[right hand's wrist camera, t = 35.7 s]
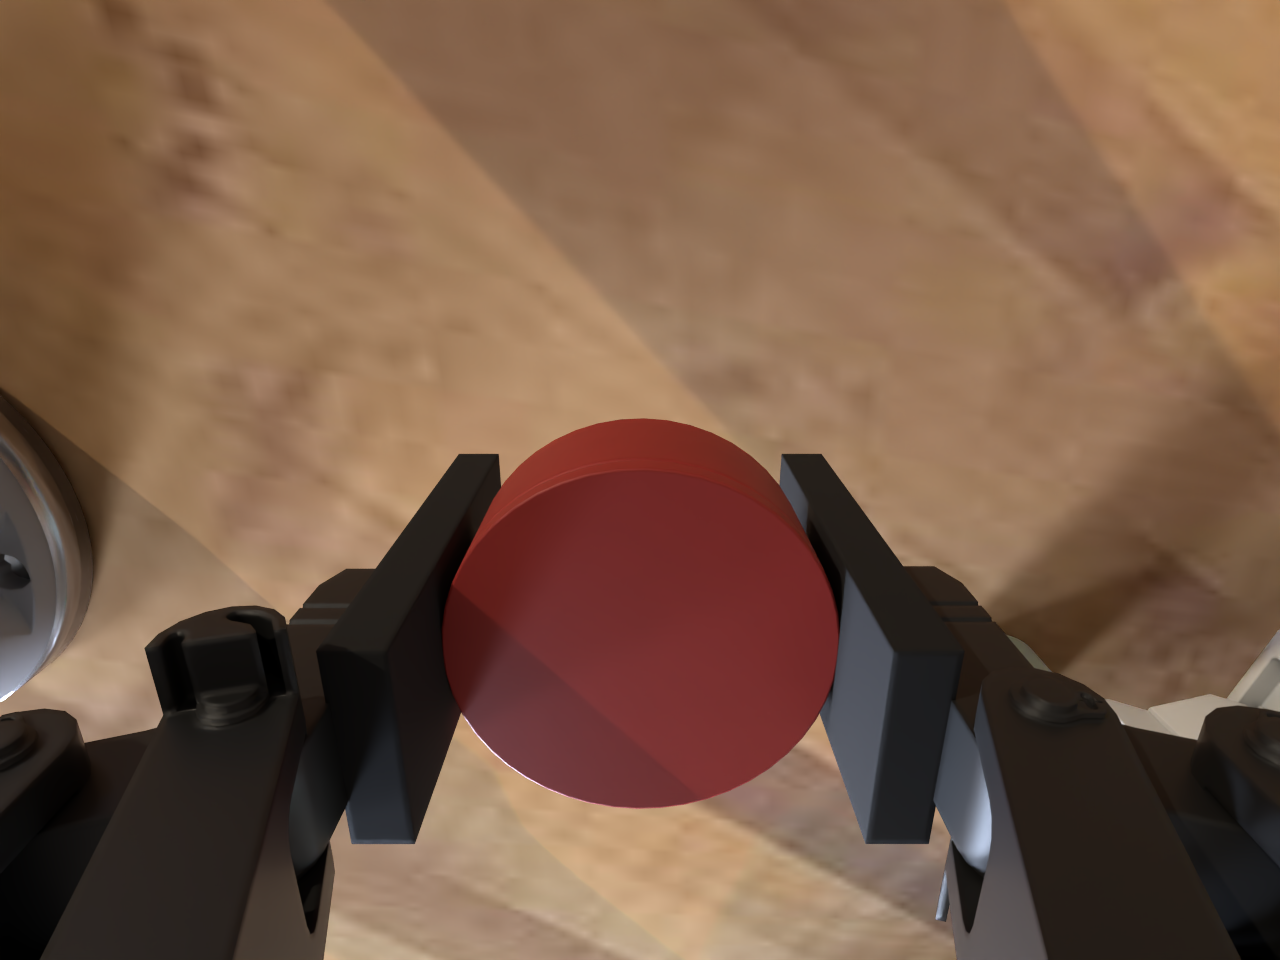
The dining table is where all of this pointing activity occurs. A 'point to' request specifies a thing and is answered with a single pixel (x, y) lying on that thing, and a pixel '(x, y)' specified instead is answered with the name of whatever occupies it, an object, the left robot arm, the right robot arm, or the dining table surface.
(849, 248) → the dining table surface
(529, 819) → the dining table surface
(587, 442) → the lid
